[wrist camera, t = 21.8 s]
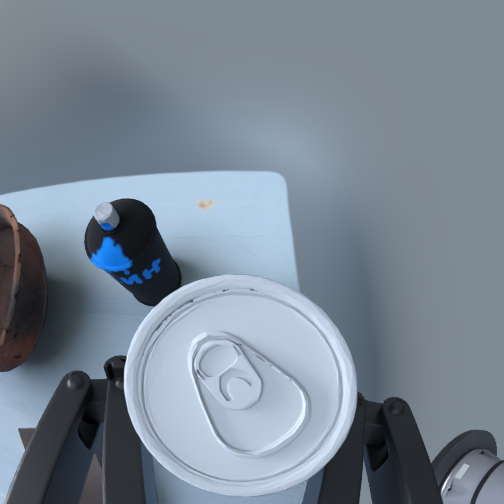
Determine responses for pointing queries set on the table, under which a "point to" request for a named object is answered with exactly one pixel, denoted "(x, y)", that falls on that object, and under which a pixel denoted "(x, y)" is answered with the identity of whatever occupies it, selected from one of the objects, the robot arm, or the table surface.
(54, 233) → the table surface
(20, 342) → the bowl
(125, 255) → the aerosol can
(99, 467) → the chest lid
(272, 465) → the beverage can
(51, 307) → the table surface
